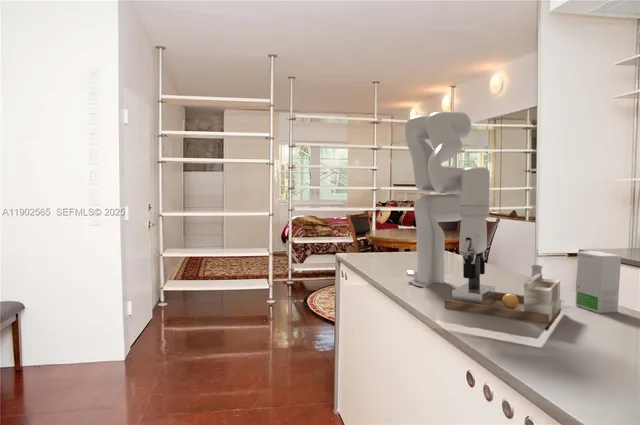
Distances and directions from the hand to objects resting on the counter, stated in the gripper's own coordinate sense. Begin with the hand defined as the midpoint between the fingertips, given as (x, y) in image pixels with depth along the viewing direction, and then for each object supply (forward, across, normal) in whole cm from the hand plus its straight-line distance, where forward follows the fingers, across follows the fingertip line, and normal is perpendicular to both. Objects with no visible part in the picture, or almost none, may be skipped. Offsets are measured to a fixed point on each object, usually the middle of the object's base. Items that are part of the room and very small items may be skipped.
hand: (474, 275), depth 121 cm
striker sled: (+8, 0, 0) cm, 8 cm away
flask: (+10, -23, +12) cm, 27 cm away
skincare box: (+10, -19, +28) cm, 35 cm away
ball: (+6, 0, +10) cm, 11 cm away
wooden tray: (+9, 0, +8) cm, 12 cm away
